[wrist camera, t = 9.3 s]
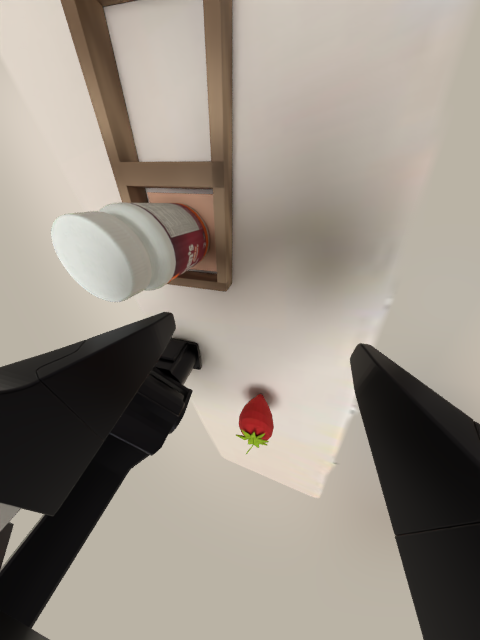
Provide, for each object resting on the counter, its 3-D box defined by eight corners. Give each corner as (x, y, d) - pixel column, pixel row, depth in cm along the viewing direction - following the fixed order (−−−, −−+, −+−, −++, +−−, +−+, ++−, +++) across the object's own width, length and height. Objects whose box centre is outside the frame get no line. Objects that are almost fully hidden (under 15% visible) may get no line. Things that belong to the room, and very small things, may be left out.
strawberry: (249, 404, 36) (238, 461, 28) (241, 382, 32) (227, 440, 24) (277, 407, 35) (274, 469, 26) (272, 383, 31) (267, 447, 23)
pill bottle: (196, 273, 21) (129, 325, 12) (153, 240, 20) (45, 271, 11) (221, 230, 18) (153, 258, 9) (171, 187, 17) (34, 169, 8)
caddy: (231, 283, 21) (226, 291, 19) (158, 274, 23) (146, 281, 21) (232, -53, 10) (217, -120, 8) (83, -19, 11) (40, -67, 9)
